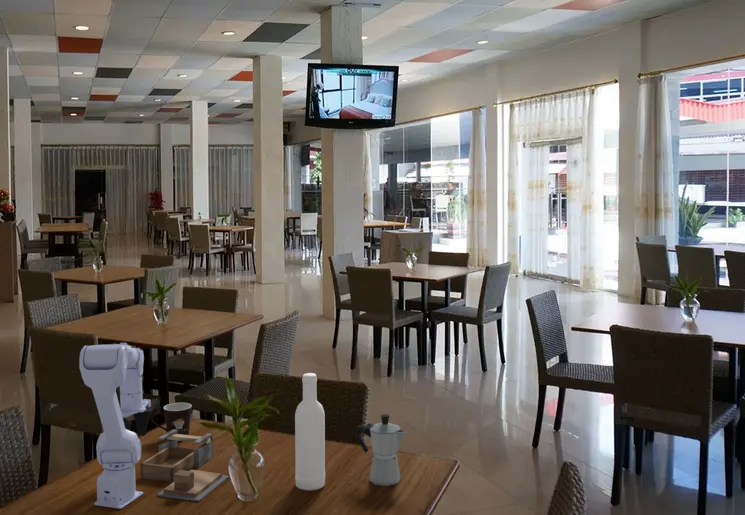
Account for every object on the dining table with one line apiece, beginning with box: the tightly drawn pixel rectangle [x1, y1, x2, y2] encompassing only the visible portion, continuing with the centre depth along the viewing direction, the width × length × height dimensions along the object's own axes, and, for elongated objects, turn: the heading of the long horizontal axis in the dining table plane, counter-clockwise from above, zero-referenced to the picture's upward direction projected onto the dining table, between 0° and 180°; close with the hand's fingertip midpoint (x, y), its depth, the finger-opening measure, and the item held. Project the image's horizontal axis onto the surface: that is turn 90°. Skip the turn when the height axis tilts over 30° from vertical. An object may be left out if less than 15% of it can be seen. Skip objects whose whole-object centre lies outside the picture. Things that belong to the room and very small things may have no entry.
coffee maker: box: [354, 413, 409, 487], centre depth 197 cm, size 15×9×18 cm, turn 74°
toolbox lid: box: [162, 469, 223, 497], centre depth 192 cm, size 14×9×5 cm
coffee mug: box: [150, 402, 193, 435], centre depth 230 cm, size 12×9×10 cm
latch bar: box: [166, 434, 210, 444], centre depth 212 cm, size 2×13×1 cm, turn 73°
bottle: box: [294, 372, 326, 491], centre depth 192 cm, size 8×8×30 cm
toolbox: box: [140, 429, 214, 483], centre depth 206 cm, size 19×13×7 cm
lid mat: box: [157, 474, 230, 503], centre depth 192 cm, size 16×12×1 cm
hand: (133, 440), depth 198 cm, fingers open, 7 cm apart
